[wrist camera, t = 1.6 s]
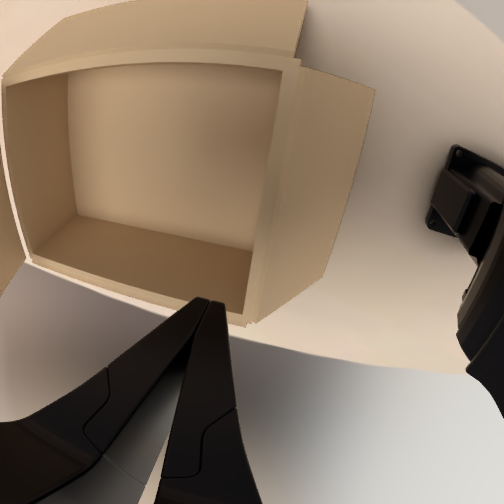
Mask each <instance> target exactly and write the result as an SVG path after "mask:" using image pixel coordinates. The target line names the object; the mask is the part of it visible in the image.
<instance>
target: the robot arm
mask: <svg viewBox="0 0 504 504" xmlns="http://www.w3.org/2000/svg"><path fill="white" fill-rule="evenodd" d="M457 150H459V151H460V152H459V155H456V152H457ZM431 203H432V205H431V208H430V210H429V213H428V215H427V218H426V221H425V223H426V225H427V227H428V228H429V229H431V230H434V231H437V232H440V233H444V234H447V235H450V236H453V237H456V238H458V239H459V241H460V242H461V244H462V245H463V246H464V248H465V249H466V251H467V252H468V254H469V255H470V256H471V258H472V259H473V261H474V262H475V264H476V265H477V267H478V268H477V270H476V272H475V274H474V277H473V279H472V281H471V283H470V285H469V287H468V289H466V290H465V292H464V294H463V296H462V301H463V302H462V304H461V306H460V309H459V312H458V314H457V317H458V329H459V330H458V331H457V333H456V336H457V339H458V341H459V344H460V346H461V348H462V350H463V352H464V353H465V355H466V356H467V358H468V359H469V360H470V364H469V365H468V366H467V367H466V372H467V373H468V374H469V375H471V376H472V377H474V378H475V379H477V380H478V381H479V382H480V383H482V385H483V386H484V387H485V388H486V389H487V390H488V391H489V393H490V394H491V396H492V397H493V399H494V401H495V402H496V404H497V406H498V408H499V410H500V412H501V414H502V416H503V418H504V168H502V167H500V166H499V165H497V164H495V163H493V162H491V161H489V160H487V159H486V158H484V157H482V156H480V155H478V154H476V153H474V152H472V151H470V150H468V149H466V148H463V147H461V146H459V145H454V146H453V147H452V148H451V151H450V154H449V157H448V161H447V164H446V167H445V170H443V171H442V173H441V176H440V179H439V182H438V185H437V188H436V190H435V193H434V196H433V198H432V201H431ZM433 220H434V222H433V223H432V224H430V222H431V221H433ZM171 426H172V427H171ZM170 428H171V431H170ZM169 431H170V436H169V440H168V445H167V449H166V454H165V458H164V463H163V468H162V473H161V479H160V482H159V487H158V491H157V494H156V498H155V501H154V504H263V503H262V501H261V498H260V495H259V492H258V489H257V486H256V483H255V480H254V477H253V474H252V471H251V468H250V465H249V462H248V458H247V455H246V451H245V447H244V444H243V440H242V434H241V428H240V423H239V416H238V409H237V401H236V394H235V385H234V378H233V368H232V360H231V351H230V342H229V333H228V324H227V314H226V305H225V303H223V302H219V301H215V300H212V301H210V300H209V299H207V298H202V297H195V298H194V299H192V300H191V301H190V302H188V303H187V304H186V305H185V306H183V307H182V308H181V309H179V310H178V311H177V312H176V313H174V314H173V315H172V316H170V317H169V318H168V319H167V320H165V321H164V322H163V323H161V324H160V325H159V326H158V327H156V328H155V329H154V330H153V331H151V332H150V333H149V334H147V335H146V336H145V337H143V338H142V339H141V340H140V341H138V342H137V343H136V344H134V345H133V346H132V347H131V348H129V349H128V350H127V351H125V352H124V353H123V354H122V355H120V356H119V357H118V358H116V359H115V360H114V361H113V362H111V363H110V364H109V365H108V366H107V367H105V368H103V369H102V370H101V371H100V372H98V373H97V374H96V375H94V376H93V377H91V378H90V379H89V380H87V381H86V382H85V383H83V384H82V385H81V386H79V387H77V388H76V389H74V390H73V391H71V392H69V393H68V394H66V395H65V396H63V397H61V398H59V399H58V400H56V401H54V402H53V403H51V404H49V405H47V406H46V407H44V408H42V409H41V410H39V411H37V412H35V413H34V414H32V415H30V416H28V417H26V418H23V419H20V420H16V421H11V422H0V504H138V502H139V500H140V498H141V495H142V493H143V491H144V488H145V485H146V484H147V481H148V479H149V477H150V474H151V472H152V470H153V467H154V465H155V463H156V461H157V458H158V456H159V454H160V451H161V449H162V447H163V444H164V442H165V440H166V437H167V435H168V433H169Z"/></svg>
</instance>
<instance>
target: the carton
mask: <svg viewBox="0 0 504 504" xmlns="http://www.w3.org/2000/svg"><path fill="white" fill-rule="evenodd" d="M307 4H308V1H306V0H135V1H129V2H124V3H119V4H114V5H110V6H105V7H101V8H97V9H93V10H90V11H86V12H83V13H79V14H76V15H73V16H69V17H66V18H64V19H62V20H61V21H60V22H58V23H57V24H56V25H55V26H54V27H52V28H51V29H50V30H49V31H47V32H46V33H45V34H44V35H43V36H42V37H41V38H39V39H38V40H37V41H36V42H35V43H34V44H33V45H32V46H31V47H30V48H28V49H27V50H26V51H25V52H24V53H23V54H22V55H21V56H20V57H19V58H18V59H17V60H16V61H15V62H14V63H13V64H12V65H11V66H10V67H9V69H8V70H7V71H6V72H5V73H4V74H3V75H2V77H3V78H4V79H2V118H3V131H4V141H5V150H6V157H7V164H8V170H9V176H10V182H11V187H12V192H13V196H14V201H15V205H16V210H17V214H18V218H19V221H20V225H21V229H22V232H23V236H24V239H25V242H26V246H27V249H28V252H29V255H30V258H31V259H33V261H32V263H34V264H37V265H39V266H42V267H45V268H47V269H50V270H53V271H55V272H58V273H61V274H63V275H66V276H69V277H72V278H74V279H77V280H80V281H83V282H86V283H89V284H92V285H95V286H98V287H101V288H104V289H107V290H110V291H113V292H116V293H119V294H122V295H126V296H129V297H132V298H135V299H139V300H142V301H145V302H149V303H152V304H156V305H159V306H163V307H166V308H170V309H173V310H177V311H178V310H179V309H181V308H182V307H183V306H185V305H186V304H187V303H188V302H190V301H191V300H192V299H194V298H195V297H202V298H207V299H209V300H210V301H212V300H215V301H219V302H223V303H225V305H226V314H227V323H228V324H233V325H237V326H241V327H246V325H247V323H250V324H252V321H253V322H255V323H257V322H259V321H260V320H262V319H263V318H265V317H266V316H268V315H269V314H271V313H272V312H273V311H275V310H276V309H278V308H279V307H281V306H282V305H284V304H285V303H286V302H288V301H289V300H291V299H292V298H293V297H295V296H296V295H298V294H299V293H301V292H302V291H303V290H305V289H306V288H307V287H309V286H310V285H312V284H313V283H314V282H316V281H317V280H318V279H320V278H321V277H322V276H323V273H324V271H325V268H326V265H327V262H328V259H329V256H330V253H331V250H332V247H333V244H334V241H335V238H336V235H337V232H338V229H339V226H340V223H341V219H342V216H343V213H344V210H345V206H346V203H347V200H348V196H349V193H350V190H351V186H352V183H353V179H354V176H355V172H356V168H357V165H358V161H359V157H360V154H361V150H362V146H363V142H364V138H365V134H366V130H367V126H368V122H369V117H370V113H371V109H372V104H373V100H374V95H375V90H374V89H372V88H369V87H366V86H364V85H361V84H358V83H355V82H352V81H350V80H347V79H344V78H341V77H337V76H334V75H331V74H328V73H324V72H321V71H318V70H314V69H310V68H307V67H303V66H302V61H301V59H297V58H294V56H295V52H296V48H297V44H298V41H299V37H300V33H301V29H302V26H303V22H304V18H305V14H306V11H307Z"/></svg>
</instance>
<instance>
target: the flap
mask: <svg viewBox="0 0 504 504" xmlns="http://www.w3.org/2000/svg"><path fill="white" fill-rule="evenodd" d="M25 259H26V256H25V253H24V250H23V247H22V244H21V240H20V237H19V234H18V230H17V227H16V223H15V219H14V216H13V212H12V208H11V203H10V199H9V194H8V190H7V185H6V180H5V174H4V168H3V162H2V155H1V147H0V297H1V295H2V293H3V292H4V290H5V289H6V287H7V286H8V284H9V283H10V281H11V280H12V278H13V276H14V275H15V274H16V272H17V270H18V269H19V268H20V266H21V265H22V263H23V262H24V261H25Z"/></svg>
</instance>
